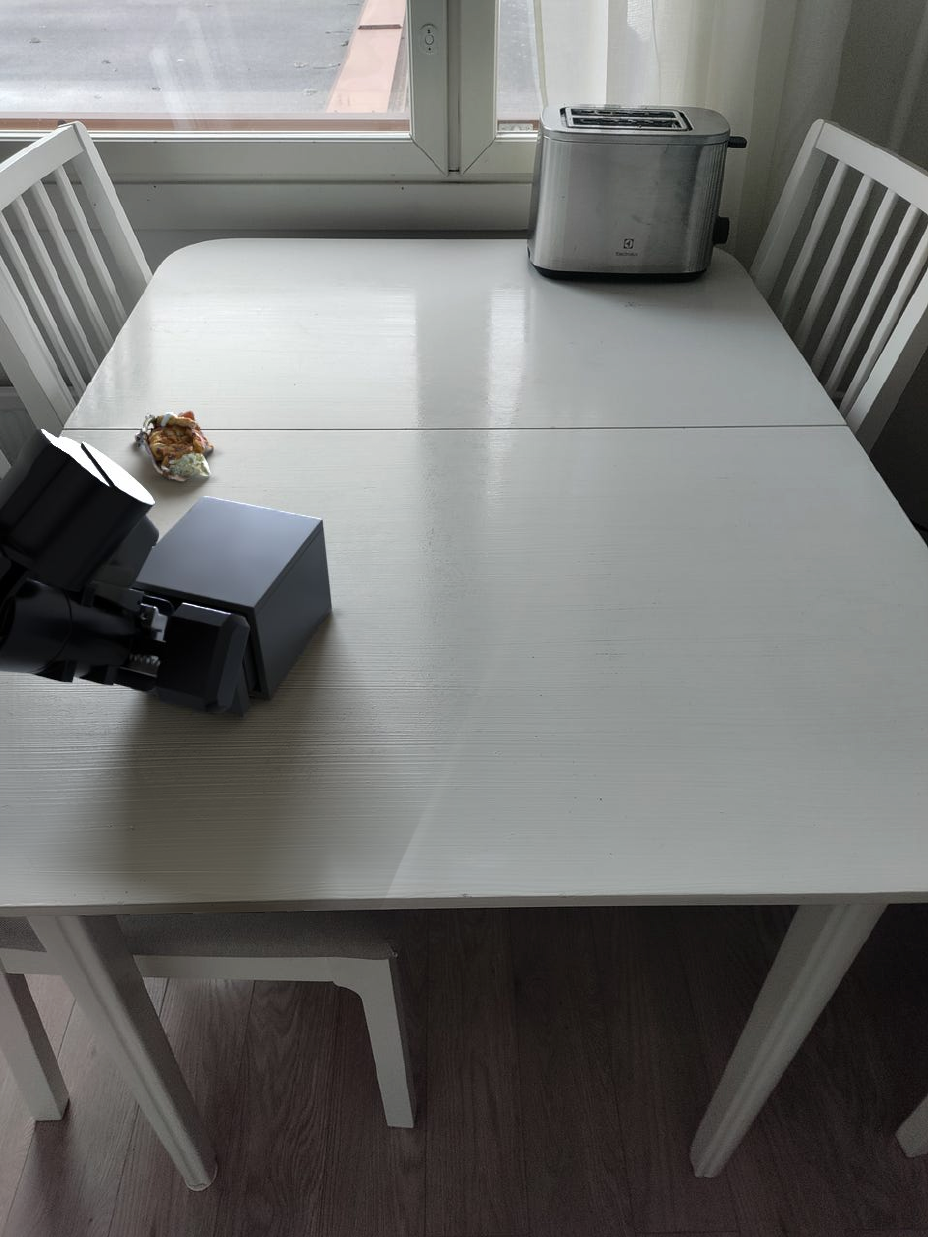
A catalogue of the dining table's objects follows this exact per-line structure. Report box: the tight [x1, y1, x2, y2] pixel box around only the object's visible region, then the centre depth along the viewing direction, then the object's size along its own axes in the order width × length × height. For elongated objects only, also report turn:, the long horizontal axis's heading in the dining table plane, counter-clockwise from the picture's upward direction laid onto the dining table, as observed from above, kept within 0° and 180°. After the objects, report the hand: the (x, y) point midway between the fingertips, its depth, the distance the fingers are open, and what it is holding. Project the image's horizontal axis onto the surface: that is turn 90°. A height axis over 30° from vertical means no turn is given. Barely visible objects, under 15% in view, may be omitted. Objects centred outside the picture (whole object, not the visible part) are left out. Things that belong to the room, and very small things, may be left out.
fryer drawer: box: [130, 589, 259, 718], centre depth 74 cm, size 12×10×8 cm
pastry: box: [134, 410, 215, 482], centre depth 102 cm, size 7×12×4 cm, turn 32°
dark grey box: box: [130, 495, 333, 701], centre depth 77 cm, size 12×11×9 cm
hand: (170, 644), depth 69 cm, fingers closed, pressing on fryer drawer
